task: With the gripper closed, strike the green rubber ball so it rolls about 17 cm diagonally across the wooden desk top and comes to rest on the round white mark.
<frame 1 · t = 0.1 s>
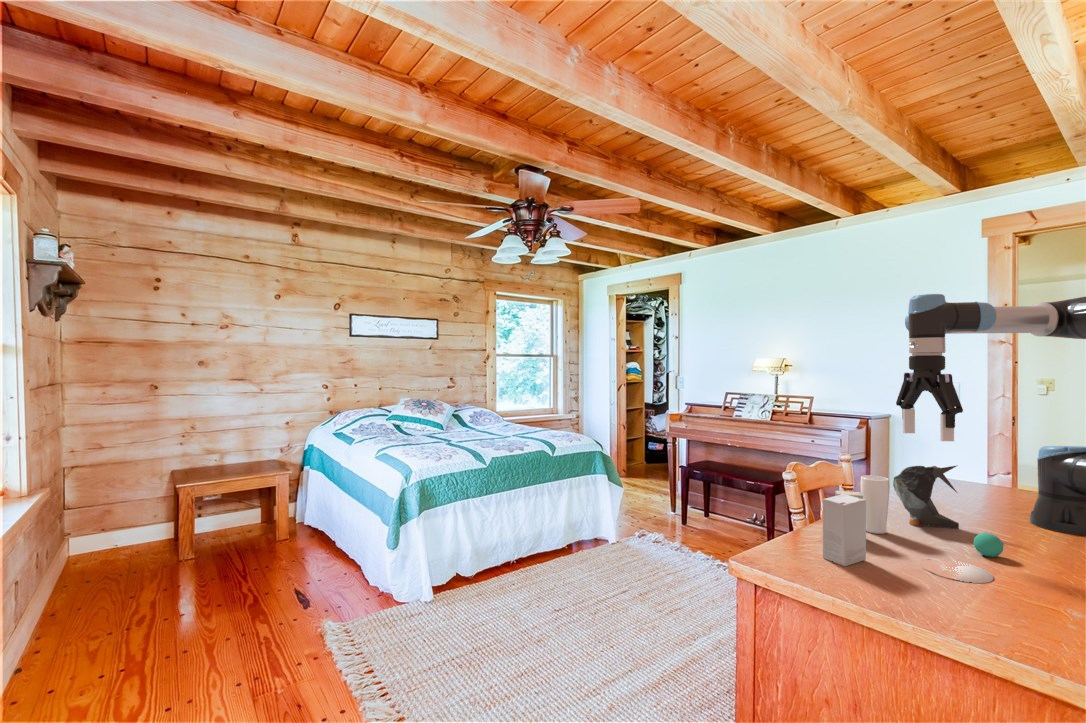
hand: (927, 437, 132), 28 cm above the table, tool pointing down, fingers open, 13 cm apart
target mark: (955, 570, 116), on the table
skincare box: (844, 560, 123), on the table
bird figurine: (924, 525, 149), on the table
ball: (988, 544, 125), on the table
drinking glass: (875, 532, 143), on the table
skincare box 2: (849, 538, 138), on the table
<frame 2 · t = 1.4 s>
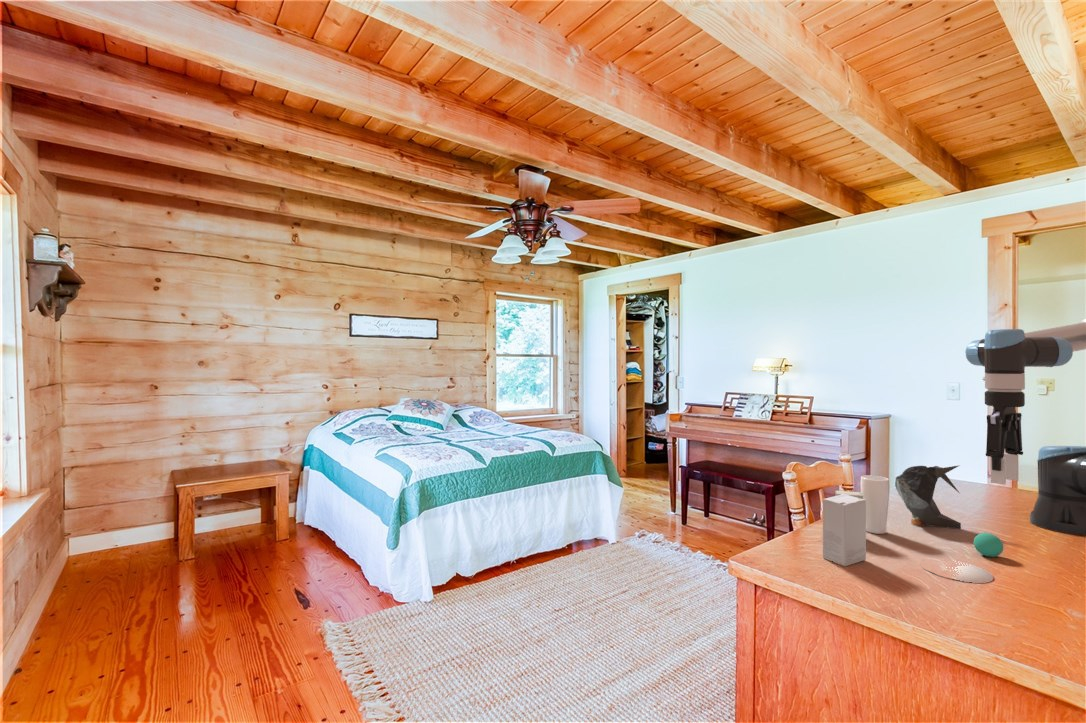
hand: (1004, 481, 129), 17 cm above the table, tool pointing down, fingers open, 7 cm apart
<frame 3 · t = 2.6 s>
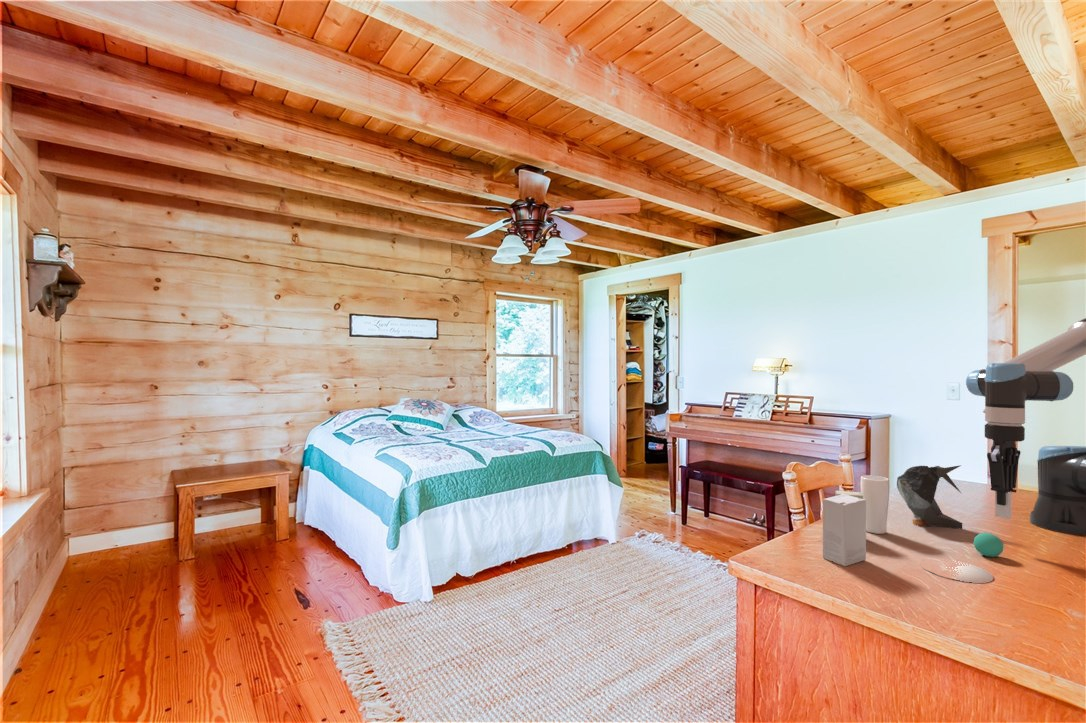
hand: (1003, 517, 129), 8 cm above the table, tool pointing down, fingers closed
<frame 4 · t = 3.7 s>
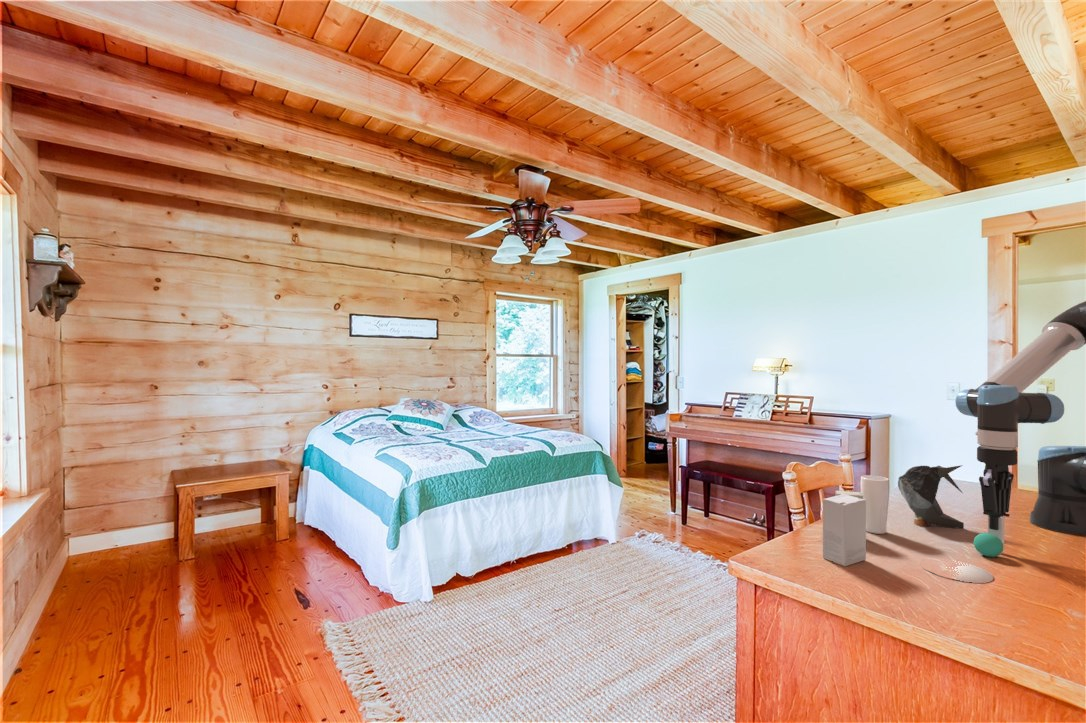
hand: (996, 541, 127), 2 cm above the table, tool pointing down, fingers closed
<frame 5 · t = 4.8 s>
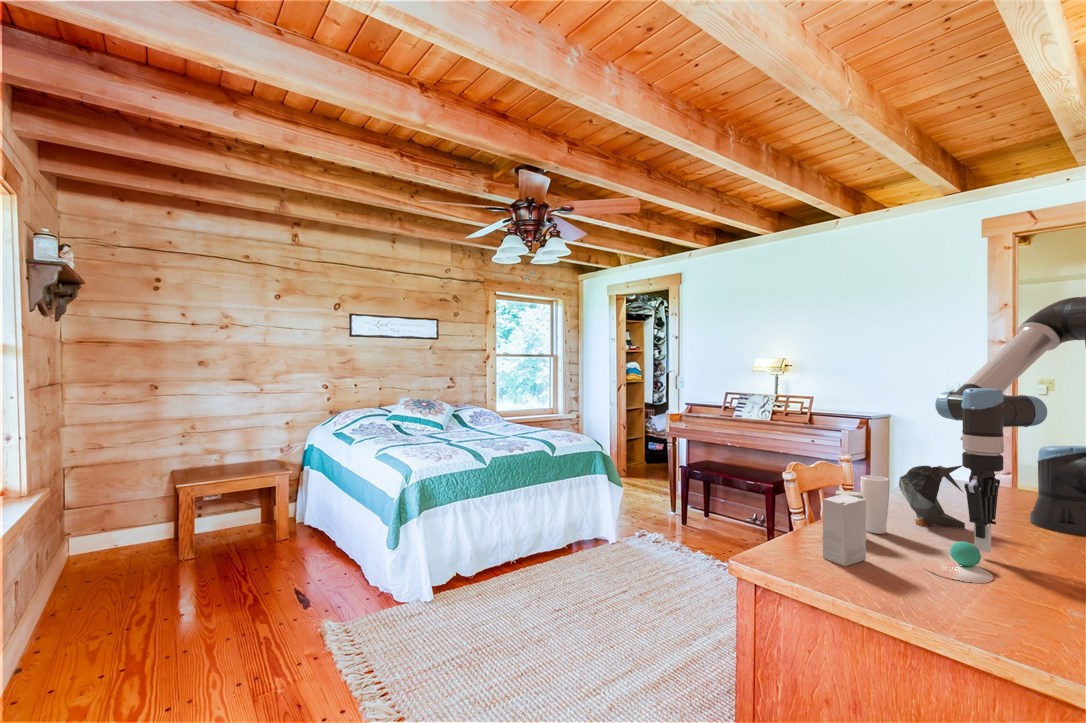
hand: (982, 550, 123), 2 cm above the table, tool pointing down, fingers closed
ball: (965, 554, 119), on the table
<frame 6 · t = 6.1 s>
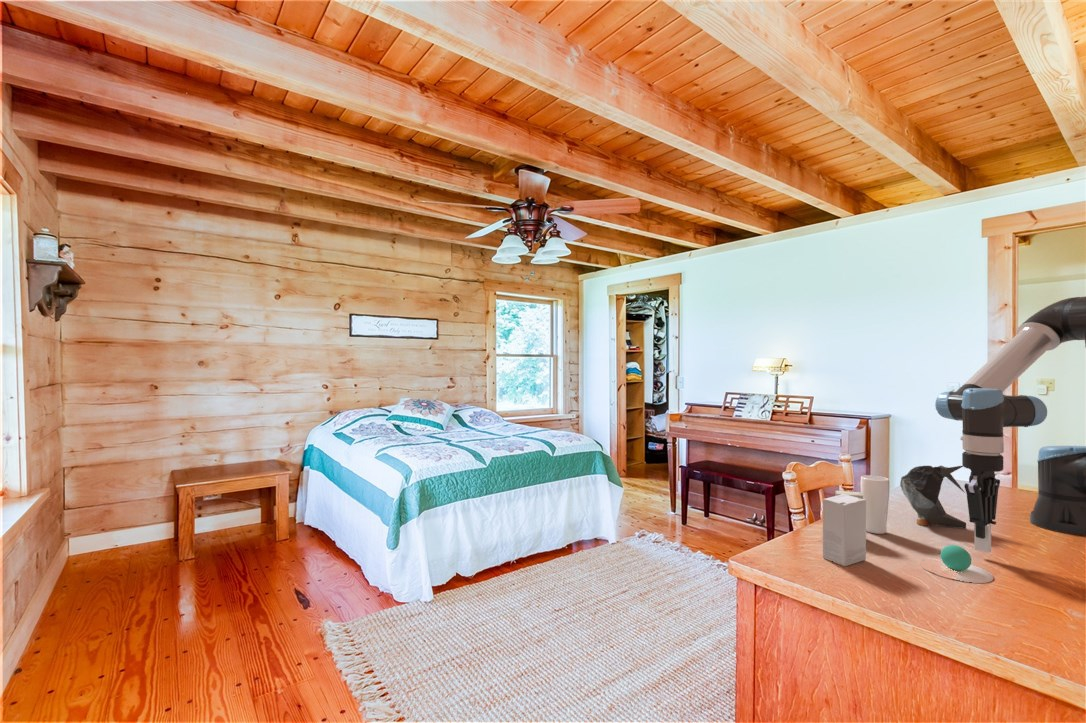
hand: (982, 550, 123), 2 cm above the table, tool pointing down, fingers closed
ball: (955, 557, 117), on the table
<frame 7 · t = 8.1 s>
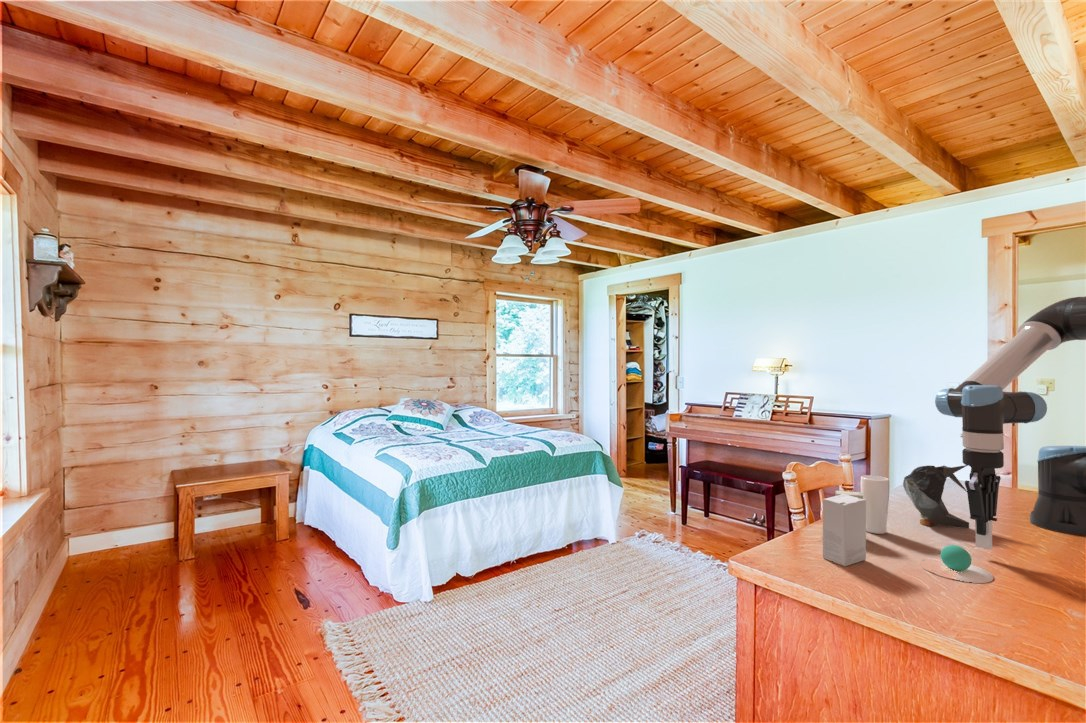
hand: (983, 547, 123), 3 cm above the table, tool pointing down, fingers closed
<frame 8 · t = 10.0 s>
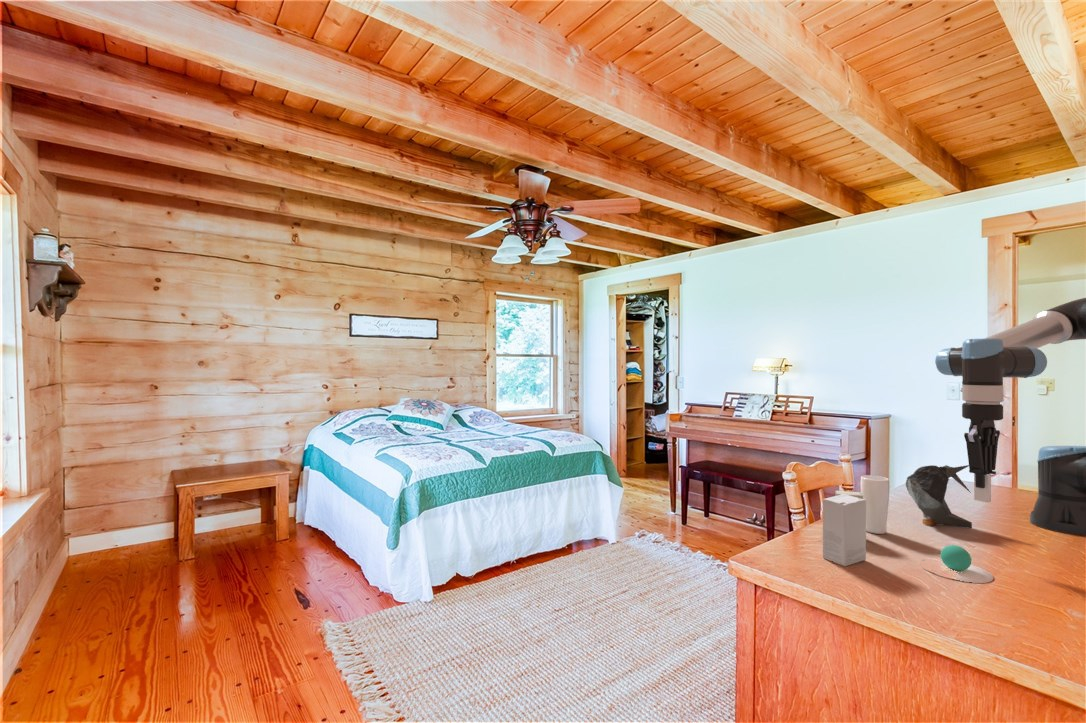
hand: (982, 500, 123), 14 cm above the table, tool pointing down, fingers closed
at the end: ball 0.6 cm from the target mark (horizontally); ball at rest at the end (0.0 cm/s); ball moved 16.4 cm from its start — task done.
